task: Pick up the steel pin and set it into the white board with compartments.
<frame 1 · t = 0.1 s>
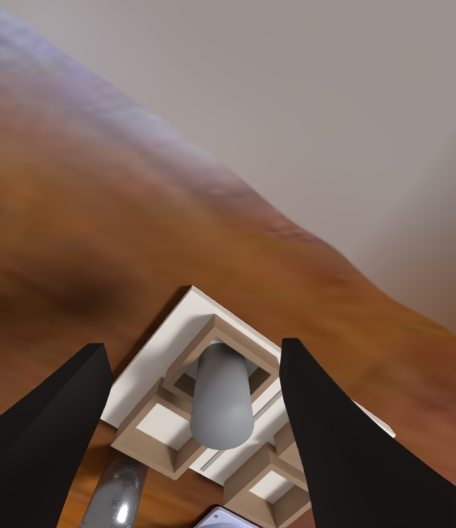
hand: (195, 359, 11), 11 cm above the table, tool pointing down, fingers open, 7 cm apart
steel pin: (130, 456, 26), on the table
white board with compartments: (247, 415, 25), on the table
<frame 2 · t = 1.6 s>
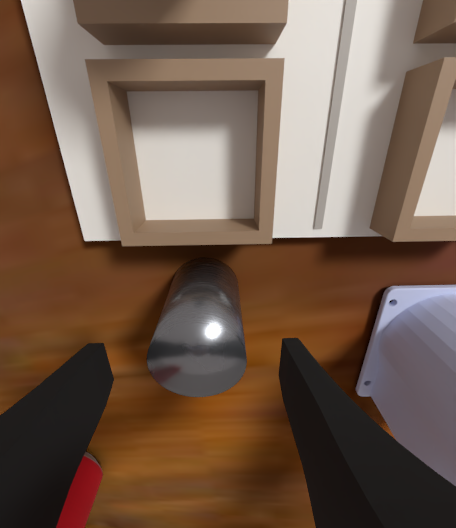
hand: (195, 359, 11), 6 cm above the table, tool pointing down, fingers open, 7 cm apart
beverage can: (72, 459, 24), on the table
steel pin: (205, 287, 16), on the table
white board with compartments: (332, 65, 11), on the table
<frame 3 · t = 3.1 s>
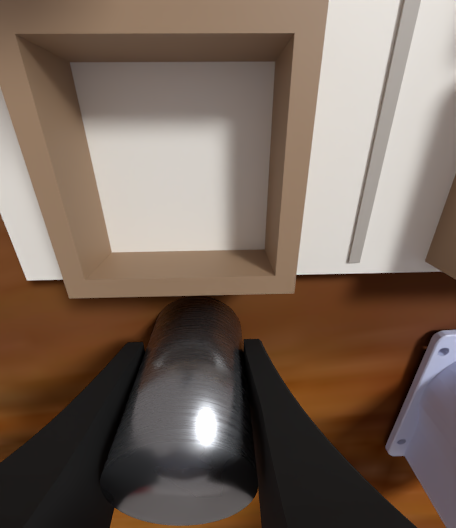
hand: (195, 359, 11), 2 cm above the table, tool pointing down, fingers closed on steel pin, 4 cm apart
steel pin: (198, 332, 12), on the table, touching gripper
white board with compartments: (385, 25, 7), on the table
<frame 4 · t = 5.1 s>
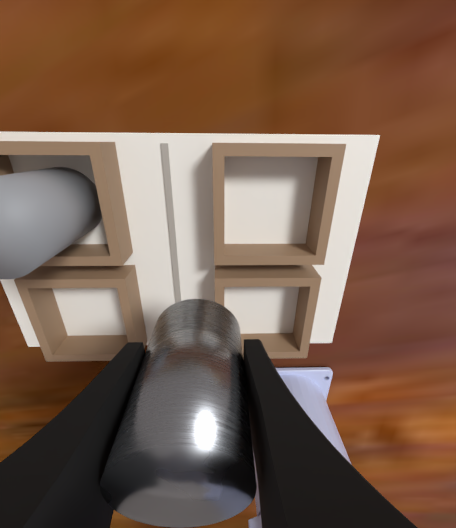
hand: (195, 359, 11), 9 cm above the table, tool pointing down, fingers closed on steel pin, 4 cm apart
steel pin: (197, 334, 12), point 7 cm above the table, touching gripper
white board with compartments: (177, 252, 18), on the table
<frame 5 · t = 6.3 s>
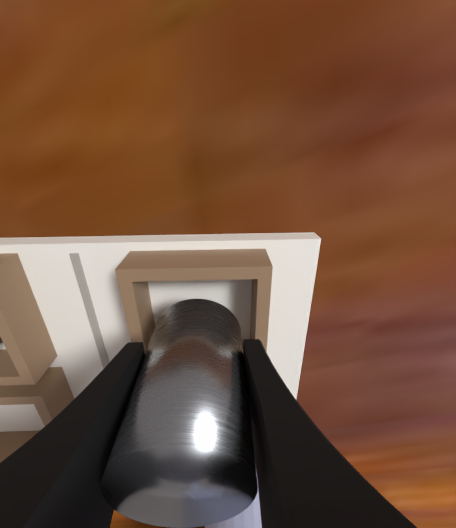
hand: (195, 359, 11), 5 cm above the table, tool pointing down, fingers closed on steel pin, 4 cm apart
steel pin: (198, 334, 12), point 3 cm above the table, touching gripper
white board with compartments: (111, 348, 16), on the table
when the fingers open (4 cm above the table, at t = 7.3 s): steel pin drops 1 cm, resting on white board with compartments.
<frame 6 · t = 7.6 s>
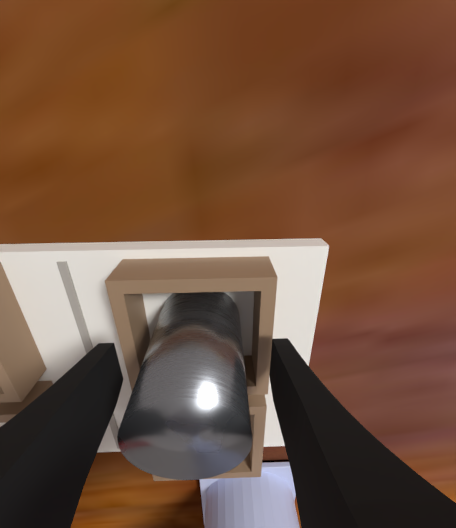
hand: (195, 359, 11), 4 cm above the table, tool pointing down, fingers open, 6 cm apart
steel pin: (200, 319, 13), point 1 cm above the table, touching white board with compartments
white board with compartments: (104, 359, 15), on the table
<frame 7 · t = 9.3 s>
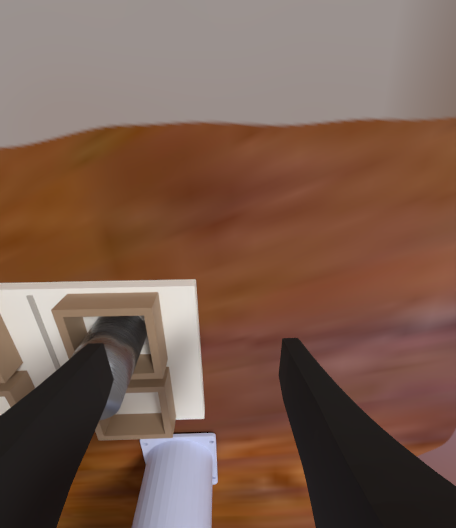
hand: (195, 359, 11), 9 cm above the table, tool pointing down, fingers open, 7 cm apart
steel pin: (121, 330, 20), point 1 cm above the table, touching white board with compartments
white board with compartments: (64, 356, 23), on the table
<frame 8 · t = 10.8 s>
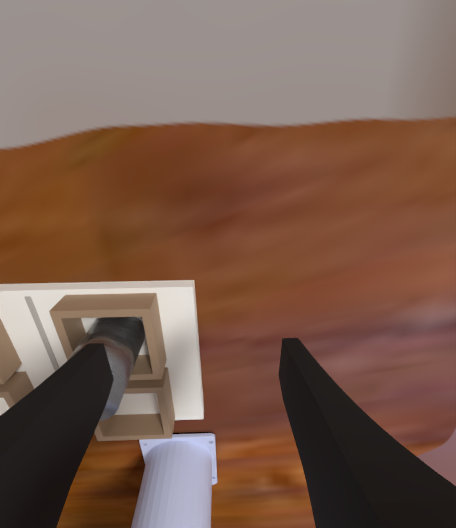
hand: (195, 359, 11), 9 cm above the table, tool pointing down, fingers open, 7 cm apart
steel pin: (120, 330, 20), point 1 cm above the table, touching white board with compartments
white board with compartments: (63, 357, 23), on the table
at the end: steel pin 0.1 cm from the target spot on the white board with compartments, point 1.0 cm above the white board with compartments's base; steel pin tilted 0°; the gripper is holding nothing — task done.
